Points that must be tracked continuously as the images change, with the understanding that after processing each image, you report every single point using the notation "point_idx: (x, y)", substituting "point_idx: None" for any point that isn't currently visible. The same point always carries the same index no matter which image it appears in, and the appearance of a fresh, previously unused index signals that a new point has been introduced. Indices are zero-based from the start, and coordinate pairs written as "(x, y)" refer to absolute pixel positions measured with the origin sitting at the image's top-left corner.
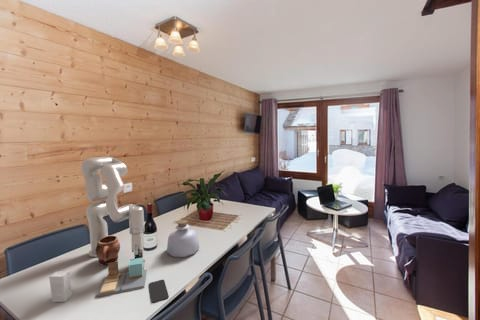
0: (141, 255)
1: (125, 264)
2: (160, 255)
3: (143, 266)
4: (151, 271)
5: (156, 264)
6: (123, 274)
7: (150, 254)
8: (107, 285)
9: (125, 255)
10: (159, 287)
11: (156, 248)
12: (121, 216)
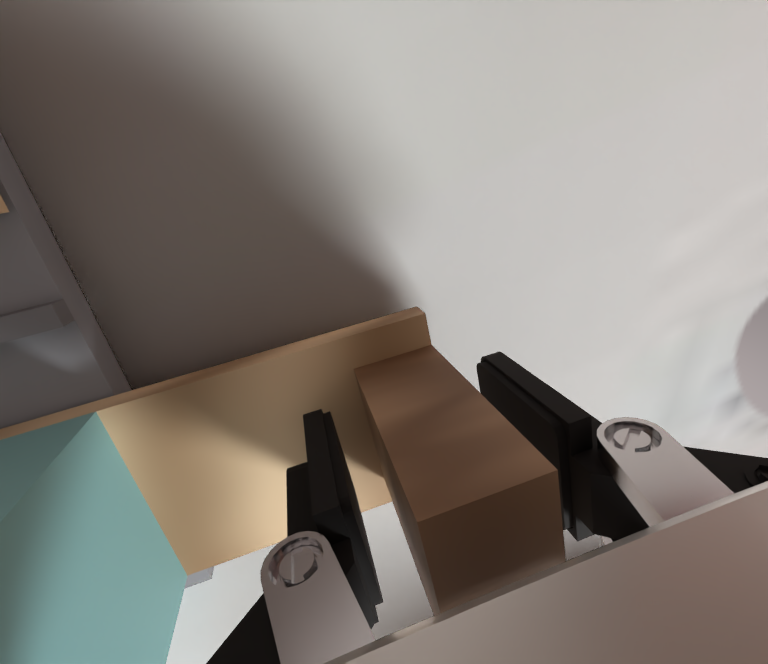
0: (419, 571)
1: (437, 136)
2: (582, 540)
3: (239, 552)
4: (214, 608)
5: (382, 588)
6: (5, 279)
7: (641, 415)
8: None
9: (739, 8)
10: None
11: (761, 426)
12: None
